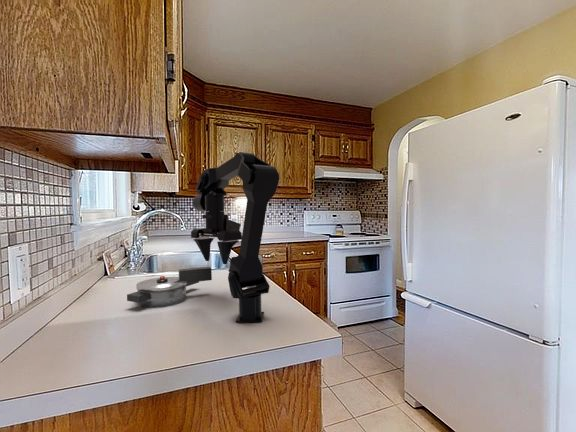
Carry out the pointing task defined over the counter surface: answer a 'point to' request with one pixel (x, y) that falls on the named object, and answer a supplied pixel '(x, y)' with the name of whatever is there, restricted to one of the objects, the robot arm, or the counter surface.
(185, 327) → the counter surface
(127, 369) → the counter surface
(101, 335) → the counter surface
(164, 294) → the grey round flat pan
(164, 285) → the lid
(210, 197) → the robot arm
